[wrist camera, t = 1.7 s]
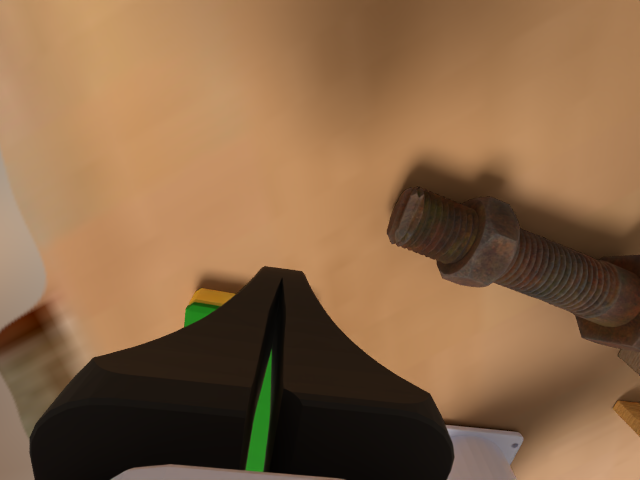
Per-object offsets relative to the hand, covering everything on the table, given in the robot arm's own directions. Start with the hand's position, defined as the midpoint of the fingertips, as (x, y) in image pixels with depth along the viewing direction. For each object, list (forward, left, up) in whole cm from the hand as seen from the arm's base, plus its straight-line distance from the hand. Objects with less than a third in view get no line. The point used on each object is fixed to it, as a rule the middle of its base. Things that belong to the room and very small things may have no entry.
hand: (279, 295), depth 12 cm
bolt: (0, -13, -10) cm, 16 cm away
